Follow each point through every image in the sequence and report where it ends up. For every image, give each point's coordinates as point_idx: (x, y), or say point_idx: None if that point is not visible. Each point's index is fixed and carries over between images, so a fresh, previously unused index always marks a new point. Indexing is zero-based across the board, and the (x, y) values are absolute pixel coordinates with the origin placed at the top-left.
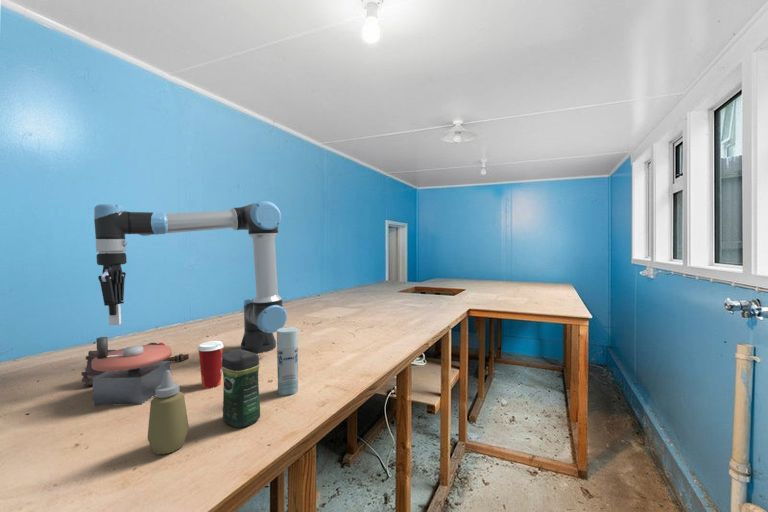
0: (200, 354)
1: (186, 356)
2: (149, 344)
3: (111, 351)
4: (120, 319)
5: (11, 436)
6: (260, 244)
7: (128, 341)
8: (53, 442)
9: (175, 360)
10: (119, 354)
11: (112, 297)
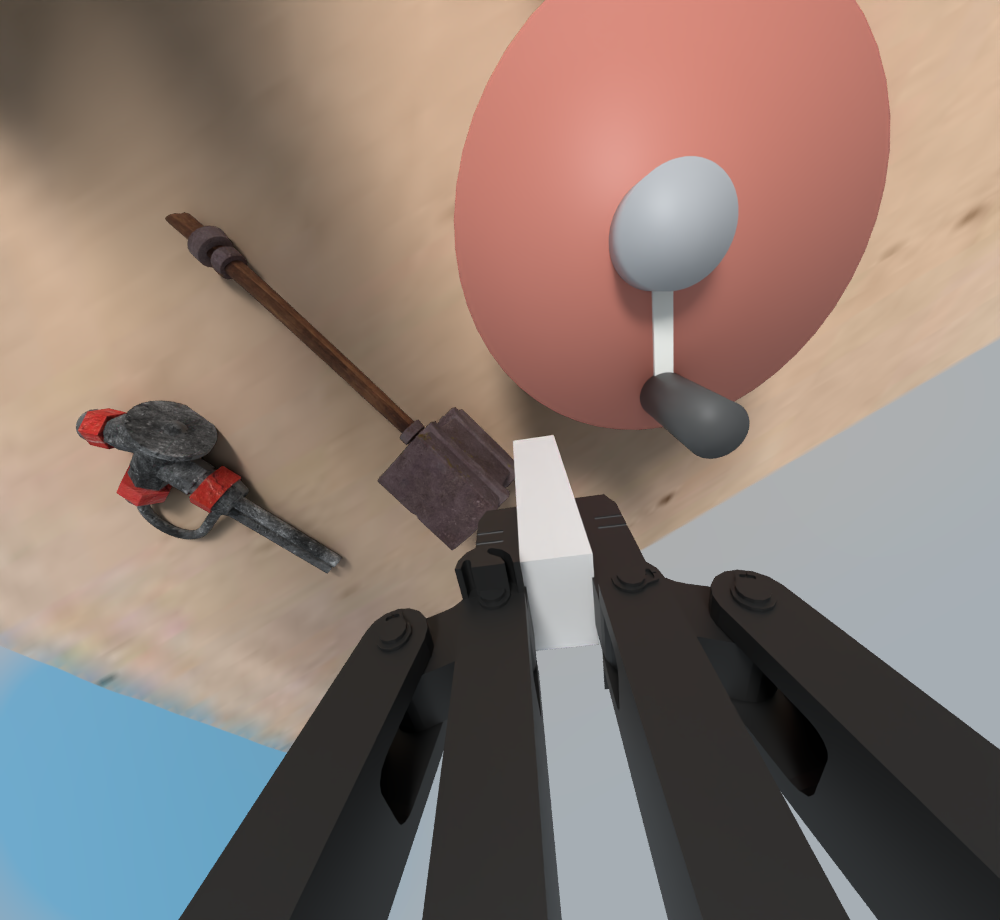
0: None
1: (189, 221)
2: (154, 448)
3: (559, 411)
4: (526, 456)
5: (803, 446)
6: None
7: (54, 601)
8: (907, 307)
9: (245, 263)
10: (634, 330)
11: (902, 686)
